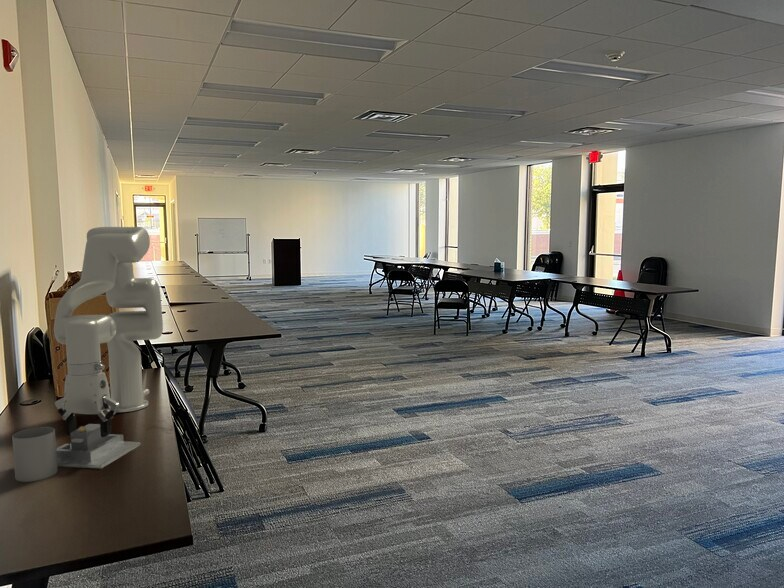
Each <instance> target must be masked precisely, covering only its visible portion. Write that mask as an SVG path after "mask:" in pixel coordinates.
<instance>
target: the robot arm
mask: <svg viewBox="0 0 784 588" xmlns="http://www.w3.org/2000/svg"><path fill="white" fill-rule="evenodd" d="M150 243H151V239H150V234H149V232H148V231H147V229H146V228H144V227H142V226H141V227H139V226H100V227H94V228H91V229H89V230H88V231H87V233H86V242H85V249H84V254H83V261H82V269H81V275H80V279H79V281H78V282H77V283H75V284H74V285H72V286H71V287H70V288H69V289H68V290H67V291H66V292H65V293H64V295H63V296H62V297H61V299H59V302H58V304H57V306H56V310H55V318H54V324H53V335H54V339H55V340H56V342H58V343H59V344H61V345H65V348H66V349H65V350H66V365H67V366H66V367H67V374H66V375H65V381H64V390H63V393H64V394H63V395H64V396H63V397H61V398H60V399H58V400H55V402H54V405H55V407H56V410H58V412H57V413H59V414H60V416H61V417H62V420H63V421H64V425H65V436H71V435H70V433H71V432H73V431H75V430H77V429H78V426H77V425H78V424H77V423H78V422H77V416H75V414H78V415H79V414H82V415H97V416H98V417H99V419H100V420H101V421H100V422H99V424H100V430H101V437H105V436H107V435H109V434H111V433H112V419H113V418H114V416H116V414H117V413H128V412H129V413H130V412H135V411H139V410H142V409H145V408H146V407H148V406H149V400H148V399H145V396H148V395H149V394H150V390H149V389H148V388H145V389H143V373H142V355H141V350H139V348H138V346H137V345H136V344H135V343H134V342H135V341H149V340H150V341H152V340H157V339H159V338H161V337H162V334H163V330H164V329H163V328H164V327H163V326H164V322H163V311H162V309H163V308H162V299H161V298H162V297H161V296H162V295H161V288H160V286H159V283H158V281H156V280H155V279H154V278H149V277H141V278H138V277H135V276H134V275H135V274H134V266H133V263H139V262H140V261H142V259H143V258H144V256H146V254H147V252H148V251H149V248H150V245H151V244H150ZM103 294H105V297H106V302H107V304H108V306H110V307H111V308H116V309H136V308H137V309H139V308H141V309H142V308H143V309H144V310H138V311H137V310H126V311H125V310H124V311H123V310H122V311H115V312H112V313H109V314H107V315H106V314H83V315H82V314H81V315H80V314H79V315H78V314H77V315H73V313H74V312H75V310H76V309H77V308H78V307H79V306H80V305H81V304H83V303H85V302H88V301H90V300H92V299H94V298H96V297H99V296H101V295H103ZM101 344H106V345H107V353H108V367H109V368H108V369H109V383H108V378H107V376H106V372H104V371H103V370H105V368H106V365H105V364H102V357H101V356H102V354H101V353H102V352H101Z"/></svg>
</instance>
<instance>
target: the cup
mask: <svg viewBox="0 0 784 588" xmlns="http://www.w3.org/2000/svg"><path fill="white" fill-rule="evenodd" d="M11 437H12V438H11V439H12V440H11V441H12V451H13V455H12V456H13V465H14V479H15V480H16V481H17V482H35V481H41V480H44V479H47V478H50V477H52V476H54V475H55V474H57V473H58V471H59V470H58V466H57V453H56V448H57V442H56V429H55V428H54V427H52V426H51V427H50V426H36V427H31V428H26V429H23V430H19V431H17V432H15V433H14V434H12V436H11Z"/></svg>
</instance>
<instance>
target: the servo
mask: <svg viewBox="0 0 784 588" xmlns="http://www.w3.org/2000/svg"><path fill="white" fill-rule="evenodd" d="M69 436H70V444H71V450H91V449H93V448H95V447H97V446H99V445H100V444H102V443H104V442H106V436H105V437H101V430H100V423H88V424H86V425H84V426H83V425H81V426H79V427H78V428H77V430H75V431H73V432H71V433H70V435H69Z"/></svg>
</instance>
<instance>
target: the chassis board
mask: <svg viewBox="0 0 784 588" xmlns="http://www.w3.org/2000/svg"><path fill="white" fill-rule="evenodd" d="M124 439H125V438H124V434H118V433H117V434H115V433H112V434H109V435H107V436H106V442H104V443H102V444H100V445H99V446H97V447H95V448H93V449H91V450H71V443H64V444H63V445H60V446H58V447H56V453H57V467H68V468H81V469H82V468H85V469H87V468H88V469H103V468H104V467H106V466H108V465H110V464H111V463H113V462H114V461H116V460H118V459H120V458H122V457H123V456H125V455H127V454H128V453H130V452H131V451H133V450H135V449H137V448H138V447H140V446H141V445H142V444H141V442H140V441H127V440H126V441H125V440H124Z"/></svg>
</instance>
